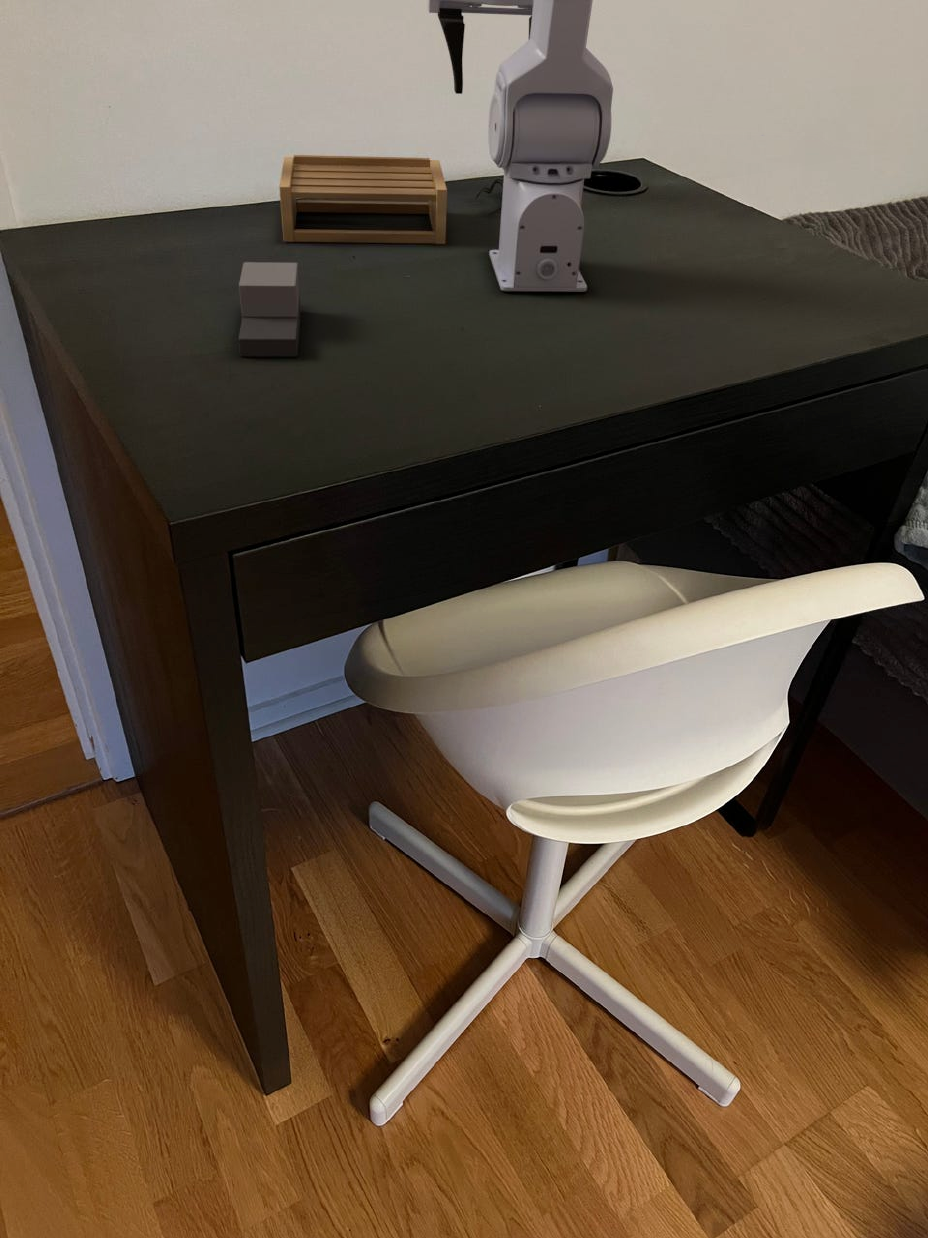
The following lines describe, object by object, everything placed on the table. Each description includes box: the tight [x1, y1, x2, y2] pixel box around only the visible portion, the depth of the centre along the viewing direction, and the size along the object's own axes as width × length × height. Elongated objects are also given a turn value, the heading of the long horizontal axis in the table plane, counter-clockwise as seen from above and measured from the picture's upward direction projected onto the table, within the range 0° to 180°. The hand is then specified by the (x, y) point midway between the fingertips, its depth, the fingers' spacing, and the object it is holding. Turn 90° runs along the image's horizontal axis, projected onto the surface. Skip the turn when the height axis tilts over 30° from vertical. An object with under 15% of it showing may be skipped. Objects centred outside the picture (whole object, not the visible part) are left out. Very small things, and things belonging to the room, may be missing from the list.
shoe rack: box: [278, 154, 448, 245], centre depth 96 cm, size 10×16×5 cm, turn 96°
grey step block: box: [237, 261, 302, 358], centre depth 76 cm, size 9×4×4 cm, turn 6°
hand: (493, 92), depth 103 cm, fingers open, 7 cm apart
